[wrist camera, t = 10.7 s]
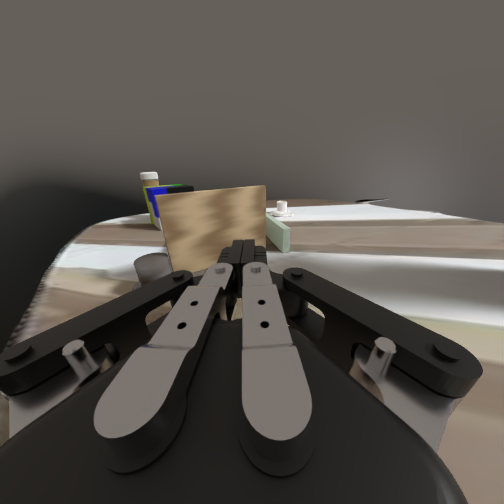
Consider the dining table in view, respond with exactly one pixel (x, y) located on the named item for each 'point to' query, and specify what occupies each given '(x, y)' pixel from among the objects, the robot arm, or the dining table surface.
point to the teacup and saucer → (281, 209)
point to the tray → (278, 233)
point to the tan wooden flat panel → (204, 228)
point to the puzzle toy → (161, 190)
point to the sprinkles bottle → (149, 179)
